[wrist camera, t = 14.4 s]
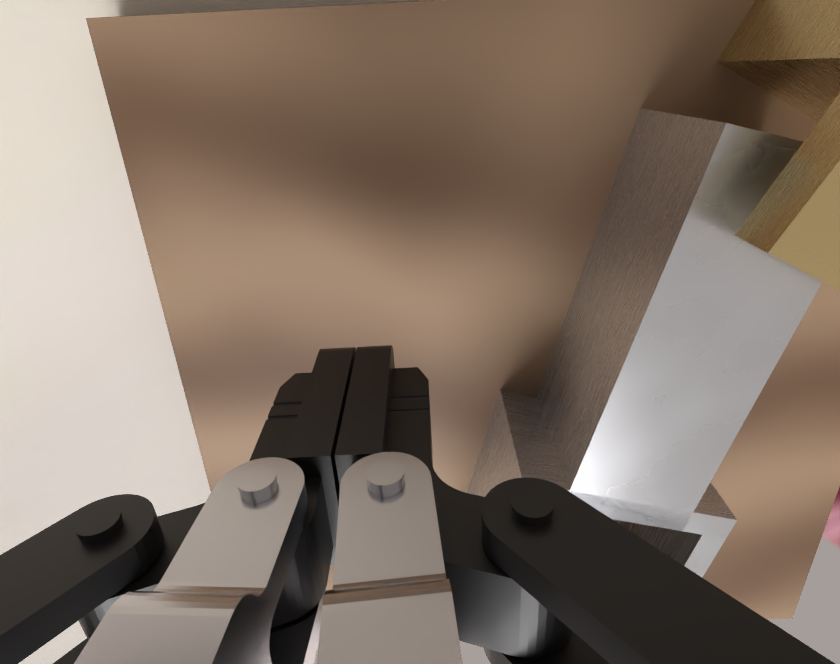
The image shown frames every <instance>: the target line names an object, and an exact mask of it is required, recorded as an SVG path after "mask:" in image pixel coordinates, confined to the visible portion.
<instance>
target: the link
mask: <svg viewBox="0 0 840 664" xmlns="http://www.w3.org/2000/svg"><path fill="white" fill-rule="evenodd" d="M802 143H803V141H799V140H795V139H790V138H786V137H782V136H778V135H774V134H770V133H766V132H762V131H758V130H753V129H749V128H745V127H741V126H737V125H733V124H729V123H724V122H718V121H712V120H706V119H701V118H695V117H689V116H683V115H677V114H671V113H665V112H660V111H654V110H648V109H642V108H640V110H639V113H638V116H637V118H636V121H635V124H634V127H633V130H632V132H631V135H630V138H629V141H628V143H627V146H626V149H625V152H624V155H623V157H622V160H621V163H620V166H619V168H618V171H617V174H616V177H615V180H614V182H613V185H612V188H611V191H610V194H609V196H608V199H607V202H606V205H605V207H604V210H603V213H602V216H601V219H600V221H599V224H598V227H597V230H596V232H595V235H594V238H593V241H592V244H591V246H590V249H589V252H588V255H587V258H586V260H585V263H584V266H583V269H582V271H581V274H580V277H579V280H578V283H577V285H576V288H575V291H574V294H573V296H572V299H571V302H570V305H569V308H568V310H567V313H566V316H565V319H564V322H563V324H562V327H561V330H560V333H559V335H558V338H557V341H556V344H555V347H554V349H553V352H552V355H551V358H550V360H549V363H548V366H547V369H546V372H545V374H544V377H543V380H542V383H541V386H540V388H539V391H538V394H537V397H536V396H531V395H526V394H520V393H515V392H510V391H505V390H500V392H499V395H498V398H497V401H496V404H495V407H494V410H493V413H492V416H491V420H490V423H489V426H488V429H487V432H486V435H485V438H484V441H483V444H482V447H481V450H480V453H479V457H478V460H477V463H476V466H475V469H474V472H473V475H472V478H471V481H470V484H469V487H468V490H467V493H469V494H474V495H478V496H483V497H485V496H486V495H487V493H488V492H489V491H490V490H491V489H492V488H494V487H495V486H496V485H498V484H500V483H502V482H504V481H507V480H510V479H515V478H524V477H527V478H538V479H543V480H547V481H550V482H553V483H555V484H557V485H559V486H561V487H563V488H564V489H566V490H568V491H569V492H571V493H572V494H574V495H575V496H577V497H578V498H580V499H581V500H583V501H585V502H586V503H588V504H589V505H591V506H592V507H594V508H595V509H597V510H598V511H600V512H602V513H603V514H605V515H606V516H608V517H609V518H611V519H612V520H614V521H615V522H617V523H619V524H620V525H622V526H623V527H625V528H626V529H628V530H629V531H631V532H632V533H634V534H636V535H637V536H639V537H640V538H642V539H643V540H645V541H646V542H648V543H649V544H651V545H653V546H654V547H656V548H657V549H659V550H660V551H662V552H663V553H665V554H666V555H668V556H670V557H671V558H673V559H674V560H676V561H677V562H679V563H680V564H682V565H683V566H685V567H686V568H688V569H690V570H691V571H693V572H694V573H696V574H697V575H699V576H700V577H703V576H704V574H705V572H706V571H707V569H708V567H709V566H710V564H711V563H712V561H713V559H714V558H715V556H716V554H717V553H718V551H719V549H720V548H721V546H722V544H723V543H724V541H725V540H726V538H727V536H728V535H729V533H730V531H731V530H732V528H733V526H734V525H735V523H736V522H737V519H736V517H735V516H734V514H733V513H732V512H731V510H730V509H729V507H728V506H727V505H726V503H725V502H724V500H723V499H722V497H721V496H720V495H719V493H718V492H717V490H716V489H715V487H714V486H713V485H712V483H711V480H712V478H713V476H714V475H715V473H716V471H717V469H718V467H719V466H720V464H721V462H722V460H723V459H724V457H725V455H726V453H727V451H728V450H729V448H730V446H731V444H732V443H733V441H734V439H735V437H736V435H737V434H738V432H739V430H740V428H741V426H742V425H743V423H744V421H745V419H746V418H747V416H748V414H749V412H750V410H751V409H752V407H753V405H754V403H755V401H756V400H757V398H758V396H759V394H760V393H761V391H762V389H763V387H764V385H765V384H766V382H767V380H768V378H769V377H770V375H771V373H772V371H773V369H774V368H775V366H776V364H777V362H778V360H779V359H780V357H781V355H782V353H783V352H784V350H785V348H786V346H787V344H788V343H789V341H790V339H791V337H792V335H793V334H794V332H795V330H796V328H797V327H798V325H799V323H800V321H801V319H802V318H803V316H804V314H805V312H806V311H807V309H808V307H809V305H810V303H811V302H812V300H813V298H814V296H815V294H816V293H817V291H818V289H819V287H820V286H821V284H822V281H820V280H818V279H816V278H814V277H812V276H811V275H809V274H807V273H805V272H803V271H801V270H799V269H797V268H795V267H793V266H792V265H790V264H788V263H786V262H784V261H782V260H780V259H778V258H776V257H775V256H773V255H771V254H769V253H767V252H765V251H763V250H761V249H759V248H757V247H756V246H754V245H752V244H750V243H748V242H746V241H744V240H742V239H740V238H738V237H737V236H735V234H736V233H737V231H738V230H739V229H740V227H741V226H742V225H743V223H744V222H745V221H746V219H747V218H748V216H749V215H750V214H751V212H752V211H753V210H754V208H755V207H756V206H757V204H758V203H759V202H760V200H761V199H762V197H763V196H764V195H765V193H766V192H767V191H768V189H769V188H770V187H771V185H772V184H773V183H774V181H775V180H776V178H777V177H778V176H779V174H780V173H781V172H782V170H783V169H784V168H785V166H786V165H787V164H788V162H789V161H790V159H791V158H792V157H793V155H794V154H795V153H796V151H797V150H798V149H799V147H800V146H801V144H802Z"/></svg>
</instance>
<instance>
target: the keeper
mask: <svg viewBox="0 0 840 664" xmlns="http://www.w3.org/2000/svg"><path fill="white" fill-rule="evenodd" d="M717 62H718V63H719V64H721V65H723V66H725V67H726V68H728V69H730V70H731V71H733V72H735V73H736V74H738V75H740V76H741V77H743V78H745V79H746V80H748V81H750V82H751V83H753V84H755V85H756V86H758V87H760V88H762V89H763V90H765V91H767V92H768V93H770V94H772V95H773V96H775V97H777V98H778V99H780V100H782V101H783V102H785V103H787V104H788V105H790V106H792V107H793V108H795V109H797V110H799V111H800V112H802V113H804V114H805V115H807V116H809V117H810V118H812V119H814V120H815V121H817V122H818V123H817V124H816V125H815V127H814V128H813V130H812V131H811V132H810V134H809V135H808V136H807V138H806V139H805V140H804V142H803V143H802V144H801V146H800V147H799V149H798V150H797V151H796V153H795V154H794V155H793V157H792V158H791V159H790V161H789V162H788V164H787V165H786V166H785V168H784V169H783V170H782V172H781V173H780V174H779V176H778V177H777V178H776V180H775V181H774V183H773V184H772V185H771V187H770V188H769V189H768V191H767V192H766V193H765V195H764V196H763V197H762V199H761V200H760V202H759V203H758V204H757V206H756V207H755V208H754V210H753V211H752V212H751V214H750V215H749V216H748V218H747V219H746V221H745V222H744V223H743V225H742V226H741V227H740V229H739V230H738V231H737V233H736V234H735V236H737V237H738V238H740V239H742V240H744V241H746V242H748V243H750V244H752V245H754V246H756V247H757V248H759V249H761V250H763V251H765V252H767V253H769V254H771V255H773V256H775V257H776V258H778V259H780V260H782V261H784V262H786V263H788V264H790V265H792V266H793V267H795V268H797V269H799V270H801V271H803V272H805V273H807V274H809V275H811V276H812V277H814V278H816V279H818V280H820V281H822V282H824V283H826V284H828V285H830V286H831V287H833V288H835V289H837V290H839V291H840V0H755V2H754V3H753V5H752V7H751V8H750V10H749V11H748V13H747V14H746V16H745V18H744V19H743V21H742V22H741V24H740V25H739V27H738V29H737V30H736V32H735V33H734V35H733V36H732V38H731V40H730V41H729V43H728V44H727V46H726V48H725V49H724V51H723V52H722V54H721V55H720V57H719V59H718V60H717Z"/></svg>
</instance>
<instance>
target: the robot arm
mask: <svg viewBox="0 0 840 664" xmlns="http://www.w3.org/2000/svg"><path fill="white" fill-rule="evenodd" d="M330 565H334V577H333V588H332V590H327V591H326V586H327V581H328V575H329V570H330ZM78 620H79V622H80V624H81V626H82V628H83V630H84V632H85V634H86V636H87V639H85V640H84V641H83V642H81V643H80V644H79V645H77V646H76V647H75V648H73V649H72V650H71V651H69V652H68V653H67V654H65V655H64V656H63V657H61V658H60V659H59V660H57V661H56V662H55V663H53V664H314V660H315V656H316V652H317V648H318V657H317V664H463V662H462V655H461V649H460V642H459V640H460V641H463V642H467V643H471V644H473V645H477V646H480V647H484V650H485V653H486V655H487V657H488V659H489V661H490V662H491V664H835V663H833V662H831V661H830V660H829V659H827V658H825V657H824V656H822V655H821V654H819V653H818V652H816V651H815V650H813V649H812V648H810V647H809V646H807V645H805V644H804V643H802V642H801V641H799V640H798V639H796V638H795V637H793V636H792V635H790V634H788V633H787V632H785V631H784V630H782V629H781V628H779V627H778V626H776V625H775V624H773V623H771V622H769V621H768V620H767V619H765V618H764V617H762V616H761V615H759V614H758V613H756V612H754V611H753V610H751V609H750V608H748V607H747V606H745V605H744V604H742V603H741V602H739V601H737V600H736V599H734V598H733V597H731V596H730V595H728V594H727V593H725V592H724V591H722V590H720V589H719V588H717V587H716V586H714V585H713V584H711V583H710V582H708V581H707V580H705V579H703V578H702V577H700V576H699V575H697V574H696V573H694V572H693V571H691V570H690V569H688V568H686V567H685V566H683V565H682V564H680V563H679V562H677V561H676V560H674V559H673V558H671V557H670V556H668V555H666V554H665V553H663V552H662V551H660V550H659V549H657V548H656V547H654V546H653V545H651V544H649V543H648V542H646V541H645V540H643V539H642V538H640V537H639V536H637V535H636V534H634V533H632V532H631V531H629V530H628V529H626V528H625V527H623V526H622V525H620V524H619V523H617V522H615V521H614V520H612V519H611V518H609V517H608V516H606V515H605V514H603V513H602V512H600V511H598V510H597V509H595V508H594V507H592V506H591V505H589V504H588V503H586V502H585V501H583V500H581V499H580V498H578V497H577V496H575V495H574V494H572V493H571V492H569V491H568V490H566V489H564V488H563V487H561V486H559V485H557V484H555V483H553V482H550V481H547V480H543V479H538V478H527V477H524V478H515V479H510V480H507V481H504V482H502V483H500V484H498V485H496V486H495V487H494V488H492V489H491V490H490V491H489V492H488V493H487V495H486V496H485V497H483V496H478V495H474V494H469V493H465V492H462V491H459V490H457V489H454V488H453V487H451V486H449V485H447V484H446V483H445V482H443V481H442V480H441V479H440V478H439V477H438V476H437V474H436V472H435V471H434V469H433V456H432V433H431V415H430V397H429V380H428V379H427V377H426V376H425V375H424V374H423V373H422V371H421V370H420V369H419V368H418V367H409V368H395V363H394V352H393V346H392V345H384V346H364V347H357V350H356V348H355V347H347V348H327V349H320V350H319V352H318V355H317V358H316V361H315V364H314V367H313V370H312V372H311V373H295V374H294V375H293V376H292V377H291V378H290V379H288V380H287V381H286V382H285V383H284V384H283V385H282V386H281V387H280V388H279V390H278V393H277V395H276V397H275V400H274V402H273V406H272V407H271V410H270V412H269V414H268V419H267V420H266V422H265V424H264V426H263V429H262V431H261V434H260V436H259V438H258V441H257V443H256V446H255V448H254V450H253V453H252V455H251V458H250V460H249V462H246V463H243V464H241V465H239V466H237V467H235V468H234V469H232V470H230V471H229V472H228V473H226V474H225V475H224V476H223V477H222V478H221V479H220V480H219V481H218V483H217V484H216V485H215V487H214V489H213V490H212V492H211V494H210V496H209V497H208V499H207V501H206V503H203V504H200V505H197V506H194V507H191V508H187V509H183V510H180V511H176V512H173V513H169V514H165V515H162V516H158V517H157V515H156V512H155V510H154V507H153V505H152V503H151V502H150V501H149V500H148V499H146V498H144V497H142V496H139V495H132V494H123V495H115V496H111V497H106V498H103V499H100V500H97V501H95V502H93V503H90V504H88V505H86V506H84V507H82V508H81V509H79V510H77V511H75V512H74V513H72V514H70V515H68V516H67V517H65V518H63V519H62V520H60V521H58V522H56V523H55V524H53V525H51V526H50V527H48V528H46V529H44V530H43V531H41V532H39V533H38V534H36V535H34V536H32V537H31V538H29V539H27V540H26V541H24V542H22V543H20V544H19V545H17V546H15V547H14V548H12V549H10V550H8V551H7V552H5V553H3V554H1V555H0V664H18V663H19V662H21V661H22V660H24V659H25V658H26V657H28V656H29V655H31V654H32V653H33V652H35V651H36V650H38V649H39V648H40V647H42V646H43V645H45V644H46V643H47V642H49V641H50V640H52V639H53V638H54V637H56V636H57V635H59V634H60V633H61V632H63V631H64V630H65V629H67V628H68V627H70V626H71V625H72V624H74V623H75V622H77V621H78ZM318 644H319V645H318Z"/></svg>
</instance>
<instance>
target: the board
mask: <svg viewBox="0 0 840 664" xmlns="http://www.w3.org/2000/svg"><path fill="white" fill-rule="evenodd" d="M754 2H755V0H430V1H411V2H391V3H372V4H352V5H333V6H314V7H294V8H275V9H255V10H236V11H217V12H197V13H178V14H159V15H139V16H120V17H100V18H86V20H87V24H88V28H89V32H90V35H91V39H92V43H93V47H94V51H95V54H96V58H97V62H98V66H99V70H100V73H101V77H102V81H103V85H104V88H105V92H106V96H107V100H108V104H109V107H110V111H111V115H112V119H113V123H114V126H115V130H116V134H117V138H118V142H119V145H120V149H121V153H122V157H123V160H124V164H125V168H126V172H127V176H128V179H129V183H130V187H131V191H132V195H133V198H134V202H135V206H136V210H137V213H138V217H139V221H140V225H141V229H142V232H143V236H144V240H145V244H146V248H147V251H148V255H149V259H150V263H151V267H152V270H153V274H154V278H155V282H156V285H157V289H158V293H159V297H160V301H161V304H162V308H163V312H164V316H165V320H166V323H167V327H168V331H169V335H170V339H171V342H172V346H173V350H174V354H175V357H176V361H177V365H178V369H179V373H180V376H181V380H182V384H183V388H184V392H185V395H186V399H187V403H188V407H189V411H190V414H191V418H192V422H193V426H194V429H195V433H196V437H197V441H198V445H199V448H200V452H201V456H202V460H203V464H204V467H205V471H206V475H207V479H208V482H209V486H210V490H211V492H212V490H213V489H214V487H215V485H216V484H217V483H218V481H219V480H220V479H221V478H222V477H223V476H224V475H225V474H226V473H228V472H229V471H230V470H232V469H234V468H235V467H237V466H239V465H241V464H243V463H246V462H249V460H250V458H251V455H252V453H253V450H254V448H255V446H256V443H257V441H258V438H259V436H260V434H261V431H262V429H263V426H264V424H265V422H266V420H267V419H268V414H269V412H270V410H271V407H272V406H273V402H274V400H275V397H276V395H277V393H278V390H279V388H280V387H281V386H282V385H283V384H284V383H285V382H286V381H287V380H288V379H290V378H291V377H292V376H293V375H294V374H295V373H311V372H312V370H313V367H314V364H315V361H316V358H317V355H318V352H319V350H320V349H327V348H347V347H355V348H356V350H357V347H364V346H384V345H392V346H393V352H394V363H395V368H409V367H418V368H419V369H420V370H421V371H422V373H423V374H424V375H425V376H426V377H427V379H428V380H429V397H430V415H431V433H432V456H433V469H434V471H435V472H436V474H437V476H438V477H439V478H440V479H441V480H442V481H443V482H445V483H446V484H447V485H449V486H451V487H453V488H454V489H457V490H459V491H462V492H465V493H467V490H468V487H469V484H470V481H471V478H472V475H473V472H474V469H475V466H476V463H477V460H478V457H479V453H480V450H481V447H482V444H483V441H484V438H485V435H486V432H487V429H488V426H489V423H490V420H491V416H492V413H493V410H494V407H495V404H496V401H497V398H498V395H499V392H500V390H505V391H510V392H515V393H520V394H526V395H531V396H536V397H537V394H538V391H539V388H540V386H541V383H542V380H543V377H544V374H545V372H546V369H547V366H548V363H549V360H550V358H551V355H552V352H553V349H554V347H555V344H556V341H557V338H558V335H559V333H560V330H561V327H562V324H563V322H564V319H565V316H566V313H567V310H568V308H569V305H570V302H571V299H572V296H573V294H574V291H575V288H576V285H577V283H578V280H579V277H580V274H581V271H582V269H583V266H584V263H585V260H586V258H587V255H588V252H589V249H590V246H591V244H592V241H593V238H594V235H595V232H596V230H597V227H598V224H599V221H600V219H601V216H602V213H603V210H604V207H605V205H606V202H607V199H608V196H609V194H610V191H611V188H612V185H613V182H614V180H615V177H616V174H617V171H618V168H619V166H620V163H621V160H622V157H623V155H624V152H625V149H626V146H627V143H628V141H629V138H630V135H631V132H632V130H633V127H634V124H635V121H636V118H637V116H638V113H639V110H640V108H642V109H648V110H654V111H660V112H665V113H671V114H677V115H683V116H689V117H695V118H701V119H706V120H712V121H718V122H724V123H729V124H733V125H737V126H741V127H745V128H749V129H753V130H758V131H762V132H766V133H770V134H774V135H778V136H782V137H786V138H790V139H795V140H799V141H803V142H804V140H805V139H806V138H807V136H808V135H809V134H810V132H811V131H812V130H813V128H814V127H815V125H816V124H817V123H818V122H817V121H815V120H814V119H812V118H810V117H809V116H807V115H805V114H804V113H802V112H800V111H799V110H797V109H795V108H793V107H792V106H790V105H788V104H787V103H785V102H783V101H782V100H780V99H778V98H777V97H775V96H773V95H772V94H770V93H768V92H767V91H765V90H763V89H762V88H760V87H758V86H756V85H755V84H753V83H751V82H750V81H748V80H746V79H745V78H743V77H741V76H740V75H738V74H736V73H735V72H733V71H731V70H730V69H728V68H726V67H725V66H723V65H721V64H719V63H718V62H717V60H718V59H719V57H720V55H721V54H722V52H723V51H724V49H725V48H726V46H727V44H728V43H729V41H730V40H731V38H732V36H733V35H734V33H735V32H736V30H737V29H738V27H739V25H740V24H741V22H742V21H743V19H744V18H745V16H746V14H747V13H748V11H749V10H750V8H751V7H752V5H753V3H754ZM711 483H712V485H713V486H714V487H715V489H716V490H717V492H718V493H719V495H720V496H721V497H722V499H723V500H724V502H725V503H726V505H727V506H728V507H729V509H730V510H731V512H732V513H733V514H734V516H735V517H736V519H737V522H736V523H735V525H734V526H733V528H732V530H731V531H730V533H729V535H728V536H727V538H726V540H725V541H724V543H723V544H722V546H721V548H720V549H719V551H718V553H717V554H716V556H715V558H714V559H713V561H712V563H711V564H710V566H709V567H708V569H707V571H706V572H705V574H704V576H703V577H702V578H703V579H705V580H707V581H708V582H710V583H711V584H713V585H714V586H716V587H717V588H719V589H720V590H722V591H724V592H725V593H727V594H728V595H730V596H731V597H733V598H734V599H736V600H737V601H739V602H741V603H742V604H744V605H745V606H747V607H748V608H750V609H751V610H753V611H754V612H756V613H758V614H759V615H761V616H762V617H764V618H765V619H789V618H793V615H794V612H795V609H796V607H797V603H798V601H799V598H800V595H801V593H802V590H803V587H804V584H805V581H806V579H807V576H808V573H809V570H810V567H811V565H812V562H813V559H814V556H815V554H816V551H817V548H818V545H819V542H820V540H821V537H822V534H823V531H824V528H825V526H826V523H827V520H828V517H829V514H830V512H831V509H832V506H833V503H834V500H835V498H836V495H837V492H838V489H839V486H840V291H839V290H837V289H835V288H833V287H831V286H830V285H828V284H826V283H824V282H822V284H821V286H820V287H819V289H818V291H817V293H816V294H815V296H814V298H813V300H812V302H811V303H810V305H809V307H808V309H807V311H806V312H805V314H804V316H803V318H802V319H801V321H800V323H799V325H798V327H797V328H796V330H795V332H794V334H793V335H792V337H791V339H790V341H789V343H788V344H787V346H786V348H785V350H784V352H783V353H782V355H781V357H780V359H779V360H778V362H777V364H776V366H775V368H774V369H773V371H772V373H771V375H770V377H769V378H768V380H767V382H766V384H765V385H764V387H763V389H762V391H761V393H760V394H759V396H758V398H757V400H756V401H755V403H754V405H753V407H752V409H751V410H750V412H749V414H748V416H747V418H746V419H745V421H744V423H743V425H742V426H741V428H740V430H739V432H738V434H737V435H736V437H735V439H734V441H733V443H732V444H731V446H730V448H729V450H728V451H727V453H726V455H725V457H724V459H723V460H722V462H721V464H720V466H719V467H718V469H717V471H716V473H715V475H714V476H713V478H712V480H711ZM333 577H334V565H330V570H329V575H328V581H327V586H326V591H327V590H332V588H333Z"/></svg>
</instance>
